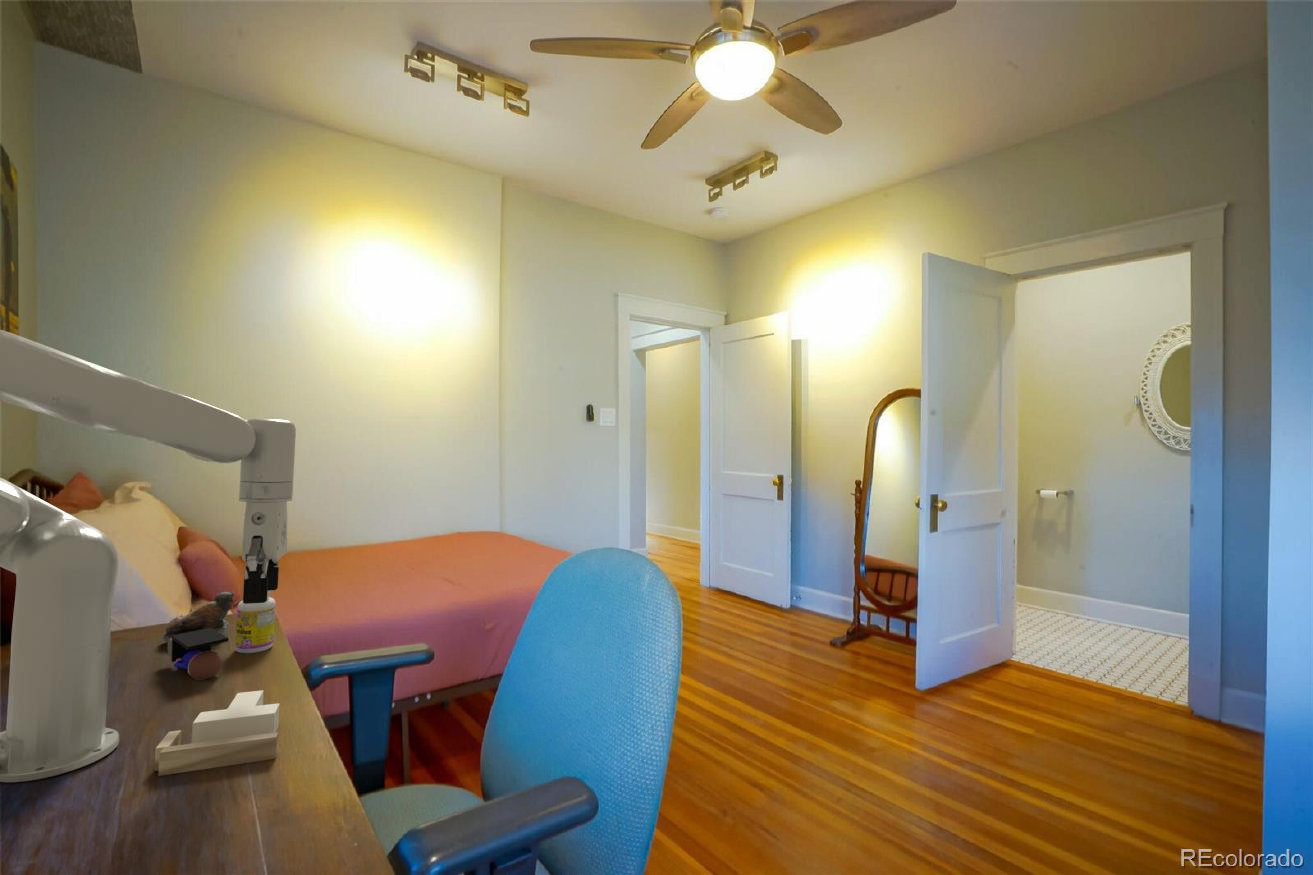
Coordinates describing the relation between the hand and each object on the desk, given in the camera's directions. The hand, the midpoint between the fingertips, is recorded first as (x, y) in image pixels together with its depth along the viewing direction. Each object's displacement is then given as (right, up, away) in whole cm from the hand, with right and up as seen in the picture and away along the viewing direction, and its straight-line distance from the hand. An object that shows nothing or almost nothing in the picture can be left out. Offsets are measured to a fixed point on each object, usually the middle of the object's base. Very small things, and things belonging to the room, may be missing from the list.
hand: (261, 595), depth 98 cm
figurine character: (-21, -18, +12) cm, 30 cm away
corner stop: (+6, -18, -17) cm, 25 cm away
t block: (+3, -18, -9) cm, 20 cm away
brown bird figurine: (-33, -18, +28) cm, 47 cm away
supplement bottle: (-18, -18, +24) cm, 35 cm away
